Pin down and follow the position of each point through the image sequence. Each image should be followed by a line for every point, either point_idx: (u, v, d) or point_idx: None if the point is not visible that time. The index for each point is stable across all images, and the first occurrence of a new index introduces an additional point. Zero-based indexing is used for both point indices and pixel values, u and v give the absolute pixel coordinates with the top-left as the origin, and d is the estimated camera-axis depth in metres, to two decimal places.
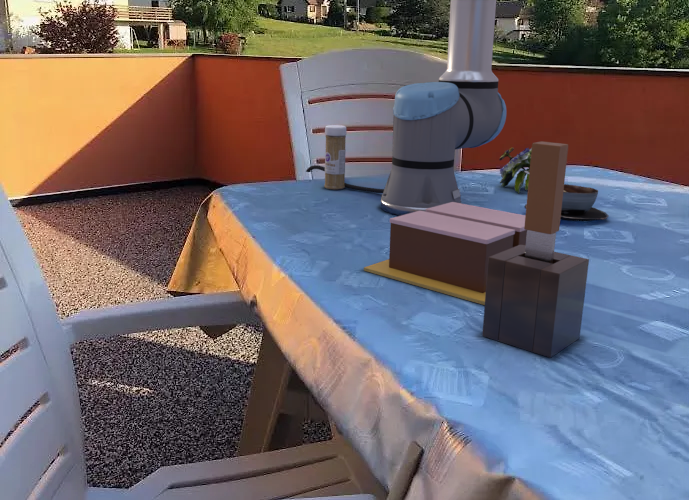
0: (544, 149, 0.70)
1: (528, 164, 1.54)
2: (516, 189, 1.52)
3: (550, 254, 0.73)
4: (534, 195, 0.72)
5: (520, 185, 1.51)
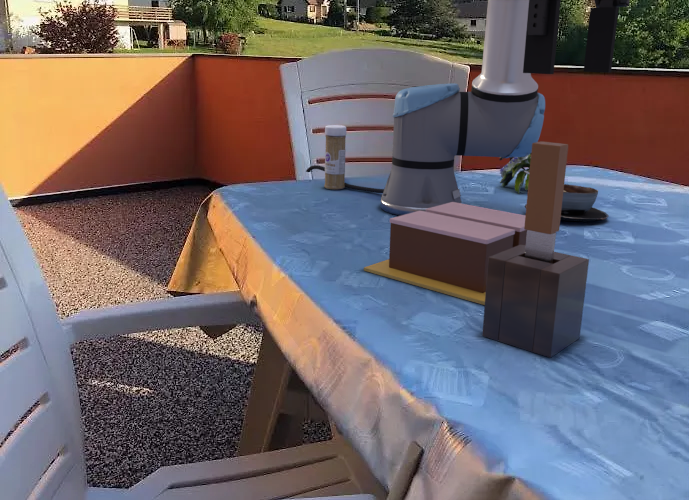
0: (544, 149, 0.70)
1: (528, 164, 1.54)
2: (516, 189, 1.52)
3: (550, 254, 0.73)
4: (534, 195, 0.72)
5: (520, 185, 1.51)
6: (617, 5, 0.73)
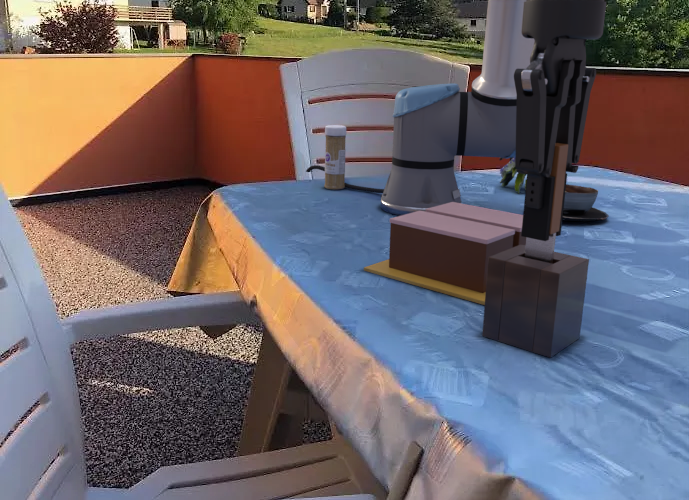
0: None
1: None
2: (516, 189, 1.52)
3: (550, 254, 0.73)
4: None
5: (520, 185, 1.51)
6: None
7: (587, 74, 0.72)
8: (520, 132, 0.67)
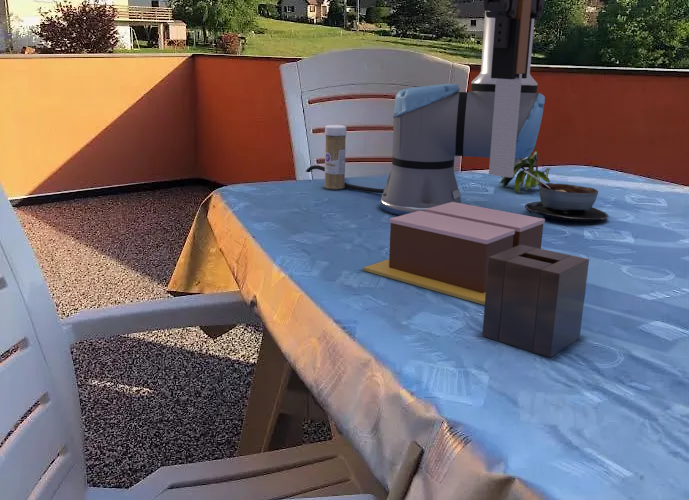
0: None
1: (528, 164, 1.54)
2: (516, 189, 1.52)
3: (517, 94, 0.81)
4: None
5: (520, 185, 1.51)
6: (530, 14, 0.80)
7: None
8: None
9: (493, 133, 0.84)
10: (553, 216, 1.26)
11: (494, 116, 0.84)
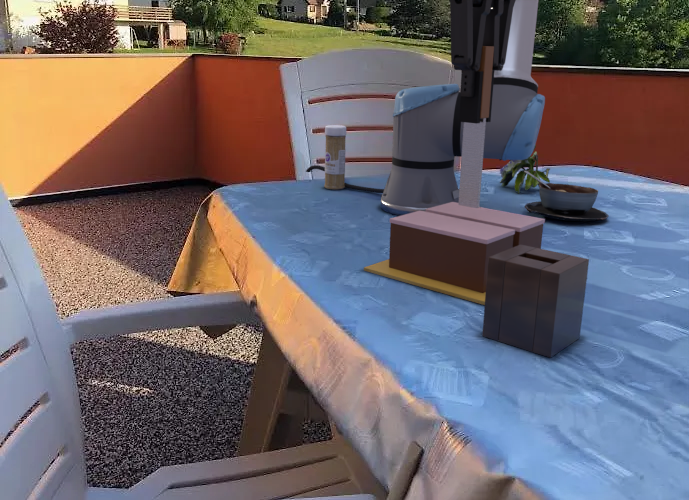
0: None
1: (528, 164, 1.54)
2: (516, 189, 1.52)
3: (481, 135, 0.93)
4: None
5: (520, 185, 1.51)
6: (493, 67, 0.92)
7: None
8: (454, 33, 0.87)
9: (462, 169, 0.96)
10: (553, 216, 1.26)
11: (462, 154, 0.95)
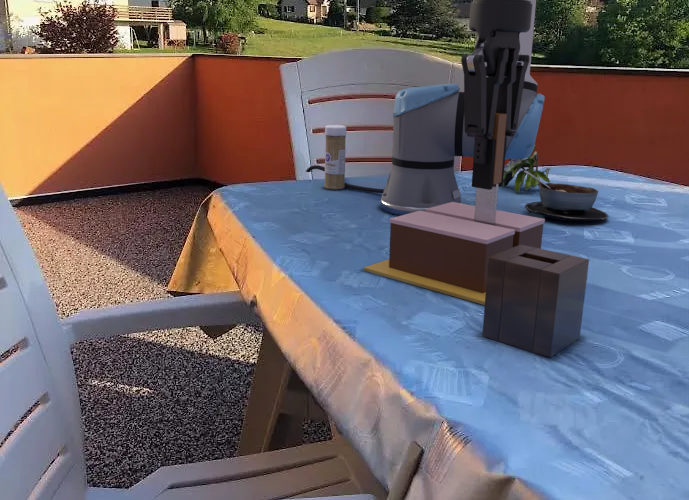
0: None
1: (528, 164, 1.54)
2: (516, 189, 1.52)
3: (494, 200, 0.93)
4: None
5: (520, 185, 1.51)
6: (505, 133, 0.93)
7: (522, 60, 0.93)
8: (467, 104, 0.88)
9: None
10: (553, 216, 1.26)
11: (475, 217, 0.96)
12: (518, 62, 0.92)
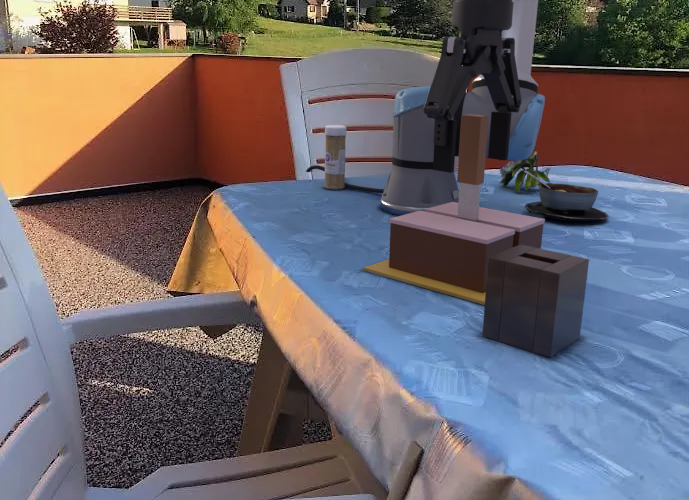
0: (470, 119, 0.92)
1: (528, 164, 1.54)
2: (516, 189, 1.52)
3: (476, 201, 0.95)
4: (463, 155, 0.94)
5: (520, 185, 1.51)
6: (510, 111, 0.98)
7: (508, 45, 0.94)
8: (435, 82, 0.86)
9: None
10: (553, 216, 1.26)
11: (458, 217, 0.98)
12: (504, 50, 0.94)
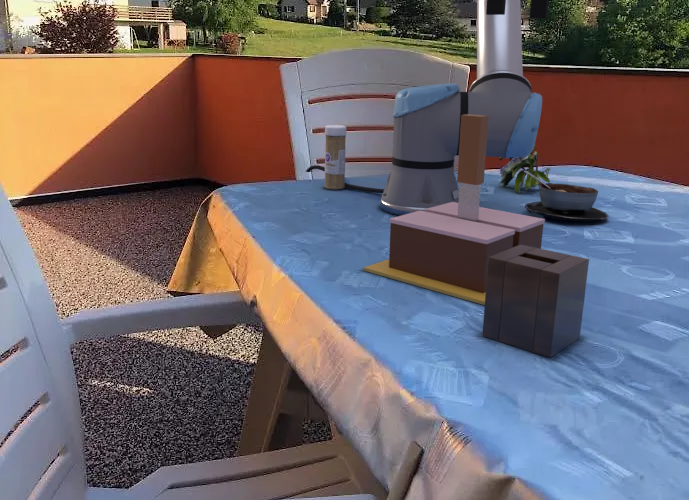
0: (470, 119, 0.92)
1: (528, 164, 1.54)
2: (516, 189, 1.52)
3: (476, 201, 0.95)
4: (463, 155, 0.94)
5: (520, 185, 1.51)
6: None
7: None
8: None
9: None
10: (553, 216, 1.26)
11: (458, 217, 0.98)
12: None
